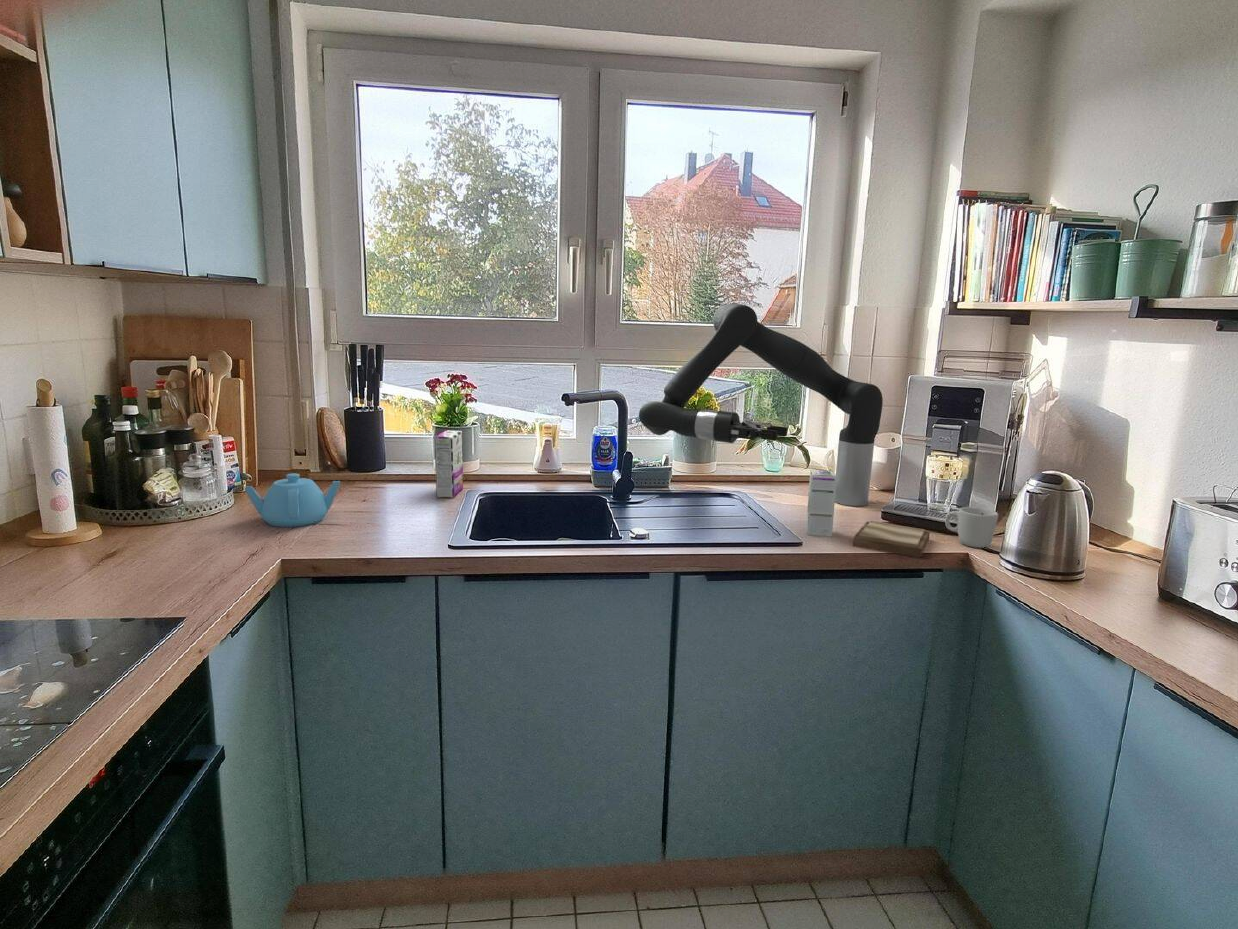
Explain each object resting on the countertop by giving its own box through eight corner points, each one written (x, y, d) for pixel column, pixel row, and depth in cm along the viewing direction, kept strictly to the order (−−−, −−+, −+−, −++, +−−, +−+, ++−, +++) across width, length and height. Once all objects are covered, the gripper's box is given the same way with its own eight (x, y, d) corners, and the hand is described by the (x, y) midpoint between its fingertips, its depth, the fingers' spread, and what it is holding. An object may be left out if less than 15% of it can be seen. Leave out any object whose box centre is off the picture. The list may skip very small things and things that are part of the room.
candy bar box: (445, 488, 198) (444, 429, 195) (463, 488, 198) (463, 430, 195) (434, 497, 187) (433, 436, 184) (453, 498, 187) (453, 436, 184)
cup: (937, 541, 163) (941, 508, 161) (949, 535, 169) (953, 502, 167) (987, 553, 156) (992, 517, 154) (998, 545, 162) (1003, 511, 160)
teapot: (241, 524, 158) (238, 476, 156) (293, 508, 172) (291, 465, 170) (295, 533, 153) (292, 484, 151) (344, 516, 167) (342, 471, 165)
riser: (866, 529, 171) (867, 519, 170) (928, 539, 164) (930, 529, 164) (852, 546, 157) (853, 535, 157) (920, 557, 151) (921, 546, 150)
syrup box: (832, 537, 163) (838, 475, 160) (806, 535, 164) (811, 473, 162) (830, 530, 169) (836, 471, 166) (804, 528, 170) (810, 469, 167)
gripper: (708, 413, 167) (775, 420, 160) (728, 408, 180) (791, 415, 172) (705, 444, 169) (772, 453, 162) (725, 437, 181) (788, 446, 174)
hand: (782, 433), depth 167 cm, fingers open, 8 cm apart
